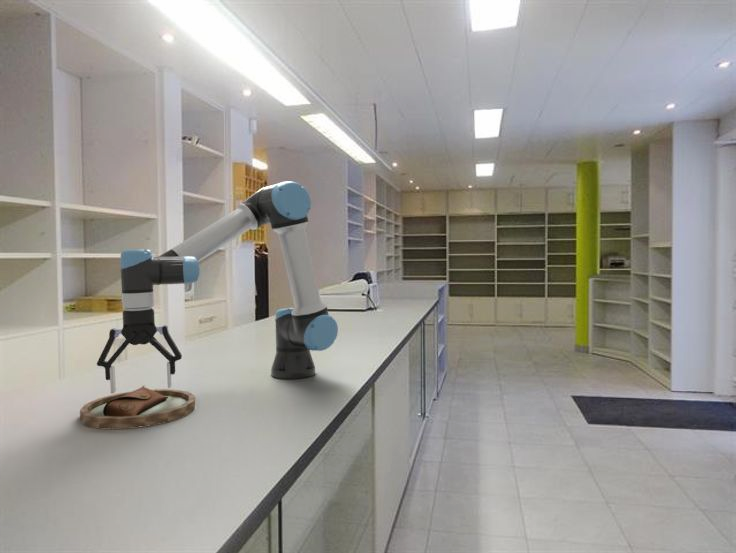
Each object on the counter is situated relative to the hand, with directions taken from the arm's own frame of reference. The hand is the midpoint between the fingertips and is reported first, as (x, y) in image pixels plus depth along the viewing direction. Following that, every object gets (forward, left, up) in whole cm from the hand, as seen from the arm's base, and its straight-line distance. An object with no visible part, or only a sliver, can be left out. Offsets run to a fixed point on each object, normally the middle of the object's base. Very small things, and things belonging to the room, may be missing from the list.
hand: (141, 389), depth 133 cm
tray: (0, 0, -6) cm, 6 cm away
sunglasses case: (+1, 0, -5) cm, 5 cm away
